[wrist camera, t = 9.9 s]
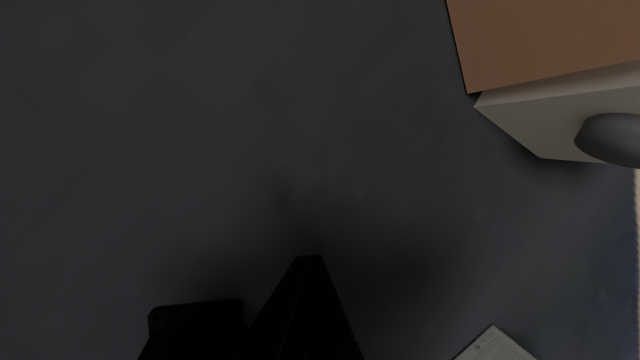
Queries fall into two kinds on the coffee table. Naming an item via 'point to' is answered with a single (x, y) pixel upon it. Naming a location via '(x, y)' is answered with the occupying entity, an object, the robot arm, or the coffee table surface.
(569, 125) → the beige rectangular box
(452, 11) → the side door
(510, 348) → the small box
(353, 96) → the coffee table surface
